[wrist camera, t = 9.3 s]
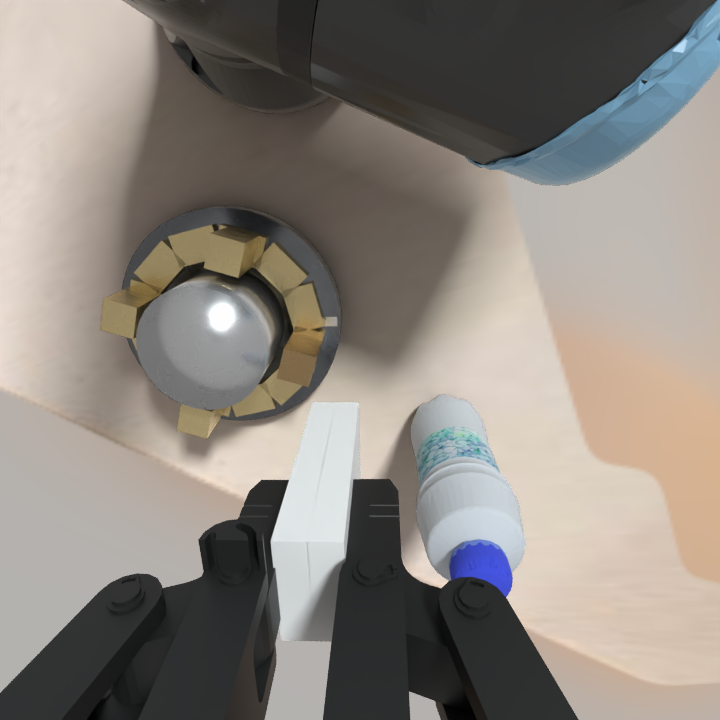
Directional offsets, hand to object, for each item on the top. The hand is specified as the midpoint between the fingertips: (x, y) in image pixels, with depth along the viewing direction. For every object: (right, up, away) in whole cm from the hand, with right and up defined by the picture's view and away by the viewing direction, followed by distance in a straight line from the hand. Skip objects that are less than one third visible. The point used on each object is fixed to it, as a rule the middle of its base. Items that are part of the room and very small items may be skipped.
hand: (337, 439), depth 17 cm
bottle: (+8, -3, +29) cm, 30 cm away
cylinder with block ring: (-10, +6, +24) cm, 27 cm away
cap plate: (-10, +6, +26) cm, 29 cm away
